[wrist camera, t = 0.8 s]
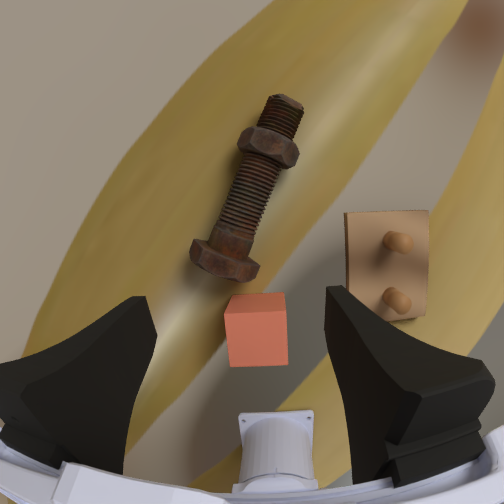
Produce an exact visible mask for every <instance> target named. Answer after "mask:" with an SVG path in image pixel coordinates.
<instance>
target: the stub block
mask: <svg viewBox="0 0 504 504" xmlns="http://www.w3.org/2000/svg"><path fill="white" fill-rule="evenodd" d="M344 223H345V224H344V225H345V250H346V289H347V290H348V291H349V292H350V293H351V294H352V295H354V296H355V297H356V298H357V299H358V300H359V301H361V302H362V303H363V304H364V305H365V306H367V307H368V308H369V309H370V310H372V311H373V312H374V313H376V314H377V315H378V316H380V317H381V318H382V319H384V320H385V321H394V320H401V319H408V318H415V317H421V316H425V312H426V301H427V287H428V267H429V215H428V210H409V211H408V210H406V211H376V212H351V213H344Z"/></svg>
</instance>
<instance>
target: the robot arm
mask: <svg viewBox="0 0 504 504" xmlns="http://www.w3.org/2000/svg"><path fill="white" fill-rule="evenodd" d="M325 305H326V306H325V324H324V330H325V337H326V342H327V348H328V352H329V356H330V359H331V362H332V365H333V369H334V372H335V375H336V378H337V382H338V385H339V388H340V391H341V395H342V399H343V403H344V409H345V416H346V422H347V429H348V437H349V445H350V454H351V465H352V480H353V485H350V486H344V487H338V488H331V489H327V488H320V490H318V482H317V479H314V471H313V463H312V439H313V419H314V413H313V411H312V410H301V411H286V412H262V413H240V414H239V416H238V420H239V427H240V434H241V441H242V448H243V453H242V460H241V467H240V474H239V481H238V484H233V487H232V493H212V492H206V491H203V490H200V489H194V488H188V487H183V486H178V485H172V484H165V483H159V482H153V481H147V480H142V479H137V478H132V477H127V476H123V462H124V453H125V446H126V439H127V433H128V428H129V423H130V418H131V414H132V410H133V406H134V402H135V399H136V396H137V394H138V391H139V389H140V386H141V384H142V381H143V379H144V376H145V374H146V371H147V369H148V366H149V363H150V361H151V358H152V356H153V352H154V348H155V344H156V339H157V332H156V329H155V326H154V323H153V320H152V317H151V314H150V310H149V307H148V304H147V300H146V297H145V296H132V297H130V298H128V299H127V300H125V301H124V302H122V303H121V304H119V305H118V306H116V307H115V308H113V309H112V310H111V311H109V312H108V313H106V314H105V315H104V316H102V317H101V318H99V319H98V320H96V321H95V322H93V323H92V324H90V325H89V326H87V327H86V328H84V329H83V330H81V331H80V332H78V333H77V334H75V335H73V336H72V337H70V338H68V339H66V340H64V341H62V342H61V343H59V344H57V345H54V346H52V347H50V348H48V349H45V350H43V351H41V352H38V353H36V354H33V355H30V356H27V357H24V358H21V359H18V360H14V361H10V362H5V363H1V364H0V418H1V419H2V420H3V422H4V423H5V425H4V427H3V428H1V427H0V492H1V493H3V494H4V495H5V496H7V497H8V498H10V499H12V500H13V501H15V502H16V503H18V504H503V503H504V425H502V426H500V427H498V428H496V429H494V430H492V431H490V432H489V433H487V434H486V435H484V436H483V437H482V438H481V436H480V434H479V432H478V431H479V430H480V429H481V424H480V421H479V419H478V417H479V416H480V414H481V413H482V411H483V410H484V408H485V407H486V405H487V404H488V402H489V401H490V399H491V397H492V395H493V393H494V388H495V380H494V378H493V376H492V375H491V373H490V372H489V370H488V369H487V368H486V366H485V364H484V363H483V362H482V360H478V359H474V358H470V357H465V356H461V355H457V354H454V353H451V352H448V351H445V350H442V349H439V348H436V347H434V346H431V345H429V344H427V343H424V342H422V341H420V340H418V339H416V338H414V337H412V336H410V335H408V334H406V333H404V332H403V331H401V330H399V329H397V328H396V327H394V326H393V325H391V324H390V323H388V322H387V321H385V320H384V319H382V318H381V317H380V316H378V315H377V314H376V313H374V312H373V311H372V310H370V309H369V308H368V307H367V306H365V305H364V304H363V303H362V302H361V301H359V300H358V299H357V298H356V297H355V296H354V295H352V294H351V293H350V292H349V291H348V290H347V289H345V288H344V287H343V286H342V285H340V286H328V287H326V304H325ZM307 417H310V418H307ZM242 420H245V421H242Z"/></svg>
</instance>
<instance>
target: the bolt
mask: <svg viewBox="0 0 504 504" xmlns="http://www.w3.org/2000/svg"><path fill="white" fill-rule="evenodd" d="M303 109H304V108H303V106H302V104H300V103H298V102H297V101H295V100H293V99H291V98H289V97H287V96H286V95H284V94H276V95H272V96H269V98H268V100H267V103H266V106H265V107H264V110H263V113H262V114H261V117H260V120H259V121H258V124H257V127H249V128H247V129H245V130H244V131H243V132H242V133H241V135H240V138H239V140H238V142H237V145H238V147H239V150H240V151H241V152H242V153H244V155H245V157H243V160H244V161H241V163H242V165H239V166H240V169H238V171H239V172H238V173H236V174H237V176H236V177H234V178H235V179H236V180H234V181H233V183H234V184H233V185H231V186H232V187H233V188H231V189H230V190H231V192H229V195H230V196H227V198H228V199H229V200H226V201H225V202H226V203H227V204H224V207H225V208H222V210H223V211H224V212H220V214H221V215H222V216H219V218H220V220H217V223H216V225H215V226H214V228H213V230H212V233H211V235H210V238H209V240H208V241H204V240H199V239H193V242H192V245H191V248H190V251H189V253H190V258H191V261H192V262H193V263H195V264H196V265H197V266H199V267H200V268H202V269H204V270H206V271H207V272H209V273H211V274H213V275H216V276H219V277H222V278H225V279H229V280H232V281H237V282H242V283H245V282H249V281H251V280H253V279H255V278H256V275H257V273H258V270H259V268H260V265H259V264H258V263H256V262H255V261H253V260H252V259H251V258H249V257H248V255H249V252H250V250H251V247H252V244H253V242H254V235H255V234H256V232H255V231H254V230H257V228H256V226H259V224H258V223H257V222H260V219H259V218H262V216H261V214H264V212H263V211H262V210H265V207H264V206H267V204H266V203H265V202H269V201H268V200H267V199H268V198H270V197H269V195H270V194H271V192H270V191H273V189H272V187H274V184H273V183H276V181H275V179H277V175H279V173H278V172H279V171H281V170H280V169H279V168H282V169H289V168H291V167H293V166H295V164H296V162H297V159H298V157H299V154H300V153H299V150H298V148H297V146H296V144H295V143H294V142H293V140H292V139H293V138H294V135H295V134H296V133H295V132H296V131H297V128H298V125H299V124H300V121H301V118H302V117H303V114H304V111H303Z"/></svg>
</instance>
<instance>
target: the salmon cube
mask: <svg viewBox="0 0 504 504" xmlns="http://www.w3.org/2000/svg"><path fill="white" fill-rule="evenodd" d="M224 319H225V328H226V337H227V345H228V354H229V363H230V367H246V366H247V367H249V366H273V365H288V349H287V348H288V347H287V323H286V322H287V321H286V307H285V299H284V292H279V293H261V294H242V295H232V297H231V299H230V301H229V304H228V306H227V308H226V310H225V312H224Z"/></svg>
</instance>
